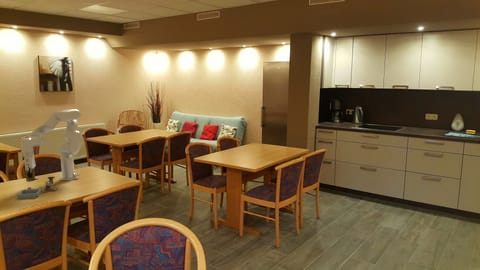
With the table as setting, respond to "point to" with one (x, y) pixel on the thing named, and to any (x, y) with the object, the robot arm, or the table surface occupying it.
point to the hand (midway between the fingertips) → (31, 176)
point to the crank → (49, 182)
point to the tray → (29, 193)
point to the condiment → (32, 176)
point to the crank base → (46, 189)
